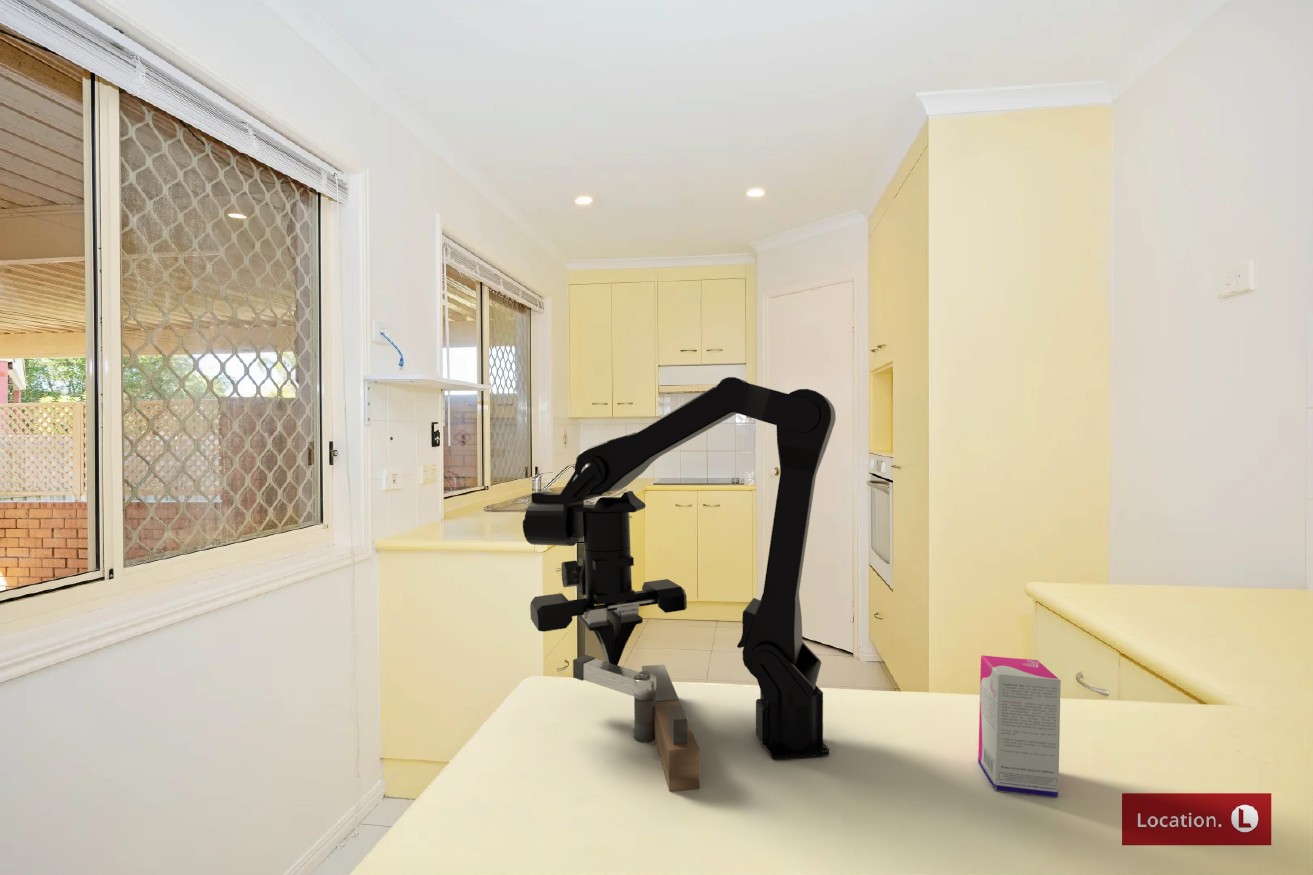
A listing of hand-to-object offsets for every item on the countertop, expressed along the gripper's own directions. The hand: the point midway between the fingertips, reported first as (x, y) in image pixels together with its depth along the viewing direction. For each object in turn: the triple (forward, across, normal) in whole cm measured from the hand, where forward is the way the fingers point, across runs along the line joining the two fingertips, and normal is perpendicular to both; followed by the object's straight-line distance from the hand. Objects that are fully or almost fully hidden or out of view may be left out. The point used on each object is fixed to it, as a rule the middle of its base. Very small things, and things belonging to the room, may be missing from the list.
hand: (612, 672), depth 78 cm
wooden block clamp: (+5, -3, +8) cm, 10 cm away
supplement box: (+7, -33, +29) cm, 45 cm away
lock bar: (0, +1, +3) cm, 3 cm away
